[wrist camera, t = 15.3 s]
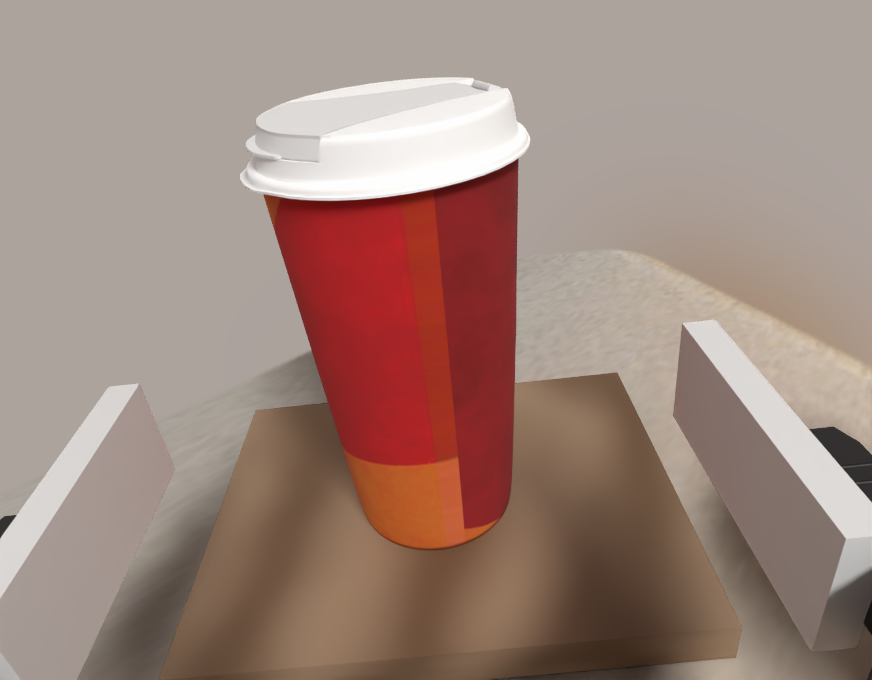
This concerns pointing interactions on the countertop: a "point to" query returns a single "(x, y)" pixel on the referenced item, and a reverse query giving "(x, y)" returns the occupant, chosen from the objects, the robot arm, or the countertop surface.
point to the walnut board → (455, 561)
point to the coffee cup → (406, 288)
